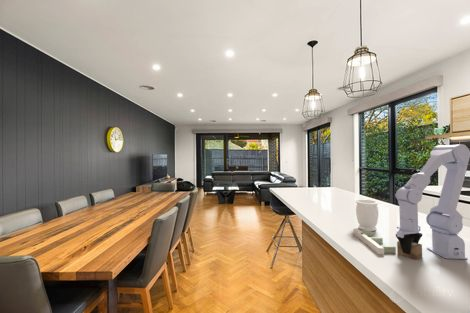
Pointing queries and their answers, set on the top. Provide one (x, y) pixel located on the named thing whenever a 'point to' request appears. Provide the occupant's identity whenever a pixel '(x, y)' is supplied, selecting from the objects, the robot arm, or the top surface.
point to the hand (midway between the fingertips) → (409, 251)
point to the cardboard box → (415, 251)
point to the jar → (367, 214)
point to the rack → (374, 242)
